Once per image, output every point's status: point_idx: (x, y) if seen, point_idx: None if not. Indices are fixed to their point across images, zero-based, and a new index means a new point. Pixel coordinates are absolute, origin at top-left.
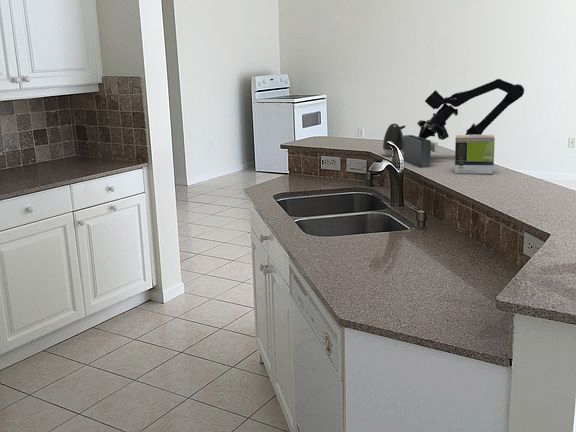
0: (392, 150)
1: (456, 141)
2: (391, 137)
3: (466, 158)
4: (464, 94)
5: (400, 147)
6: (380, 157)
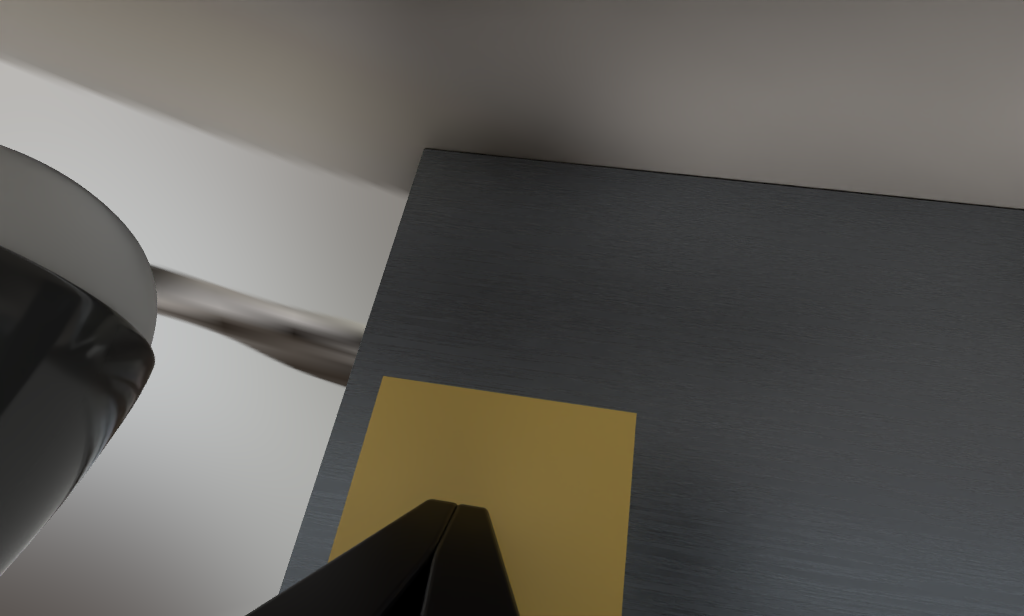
0: (150, 344)
1: None
2: (23, 549)
3: None
4: None
5: (65, 326)
6: (214, 323)
